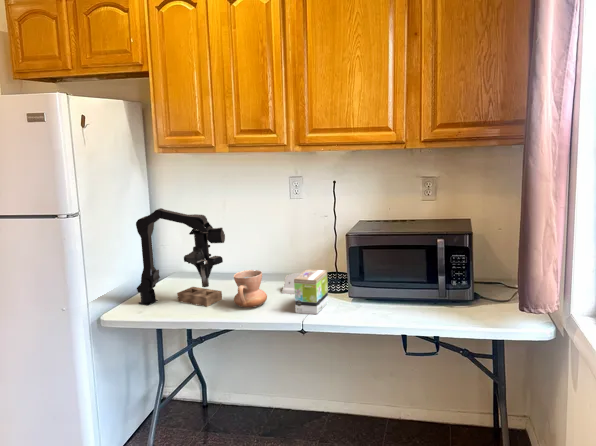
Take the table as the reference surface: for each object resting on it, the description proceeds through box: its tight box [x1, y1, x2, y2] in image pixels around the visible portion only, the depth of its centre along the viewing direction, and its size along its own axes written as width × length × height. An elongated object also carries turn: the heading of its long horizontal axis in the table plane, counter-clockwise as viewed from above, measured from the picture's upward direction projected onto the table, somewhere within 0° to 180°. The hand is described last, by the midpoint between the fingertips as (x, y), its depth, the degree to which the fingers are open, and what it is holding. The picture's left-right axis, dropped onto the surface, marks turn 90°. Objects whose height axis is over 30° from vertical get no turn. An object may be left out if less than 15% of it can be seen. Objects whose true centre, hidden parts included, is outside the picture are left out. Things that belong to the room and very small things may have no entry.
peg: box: [200, 264, 210, 288], centre depth 243 cm, size 3×3×10 cm
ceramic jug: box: [233, 269, 268, 309], centre depth 235 cm, size 18×14×14 cm
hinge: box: [281, 272, 302, 295], centre depth 249 cm, size 17×5×10 cm, turn 67°
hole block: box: [176, 286, 223, 307], centre depth 247 cm, size 18×10×4 cm, turn 56°
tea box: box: [294, 269, 329, 315], centre depth 227 cm, size 15×10×15 cm, turn 160°
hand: (204, 277), depth 243 cm, fingers closed on peg, 3 cm apart
